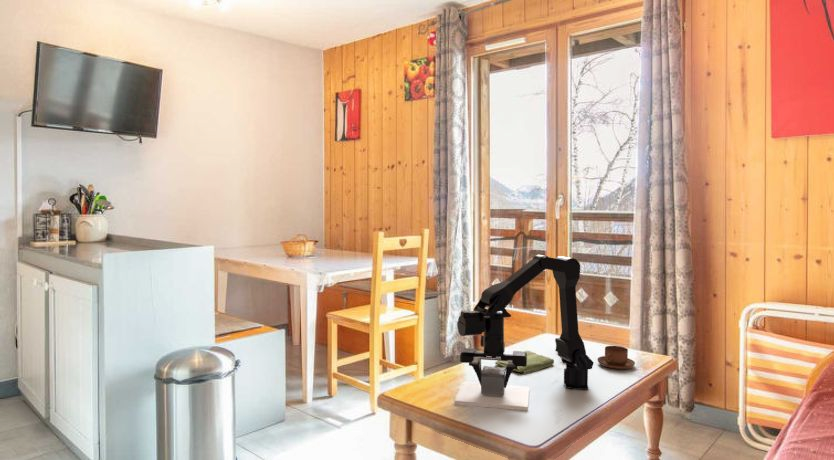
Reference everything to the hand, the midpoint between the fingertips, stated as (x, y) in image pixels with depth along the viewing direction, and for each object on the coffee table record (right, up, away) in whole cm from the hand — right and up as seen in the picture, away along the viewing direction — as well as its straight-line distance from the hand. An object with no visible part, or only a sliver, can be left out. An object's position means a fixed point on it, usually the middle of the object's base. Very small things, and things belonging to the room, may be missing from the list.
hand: (493, 386), depth 156 cm
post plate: (0, -3, 0) cm, 3 cm away
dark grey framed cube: (0, -1, 0) cm, 1 cm away
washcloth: (+15, -2, +30) cm, 33 cm away
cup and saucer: (+46, -2, +29) cm, 54 cm away
